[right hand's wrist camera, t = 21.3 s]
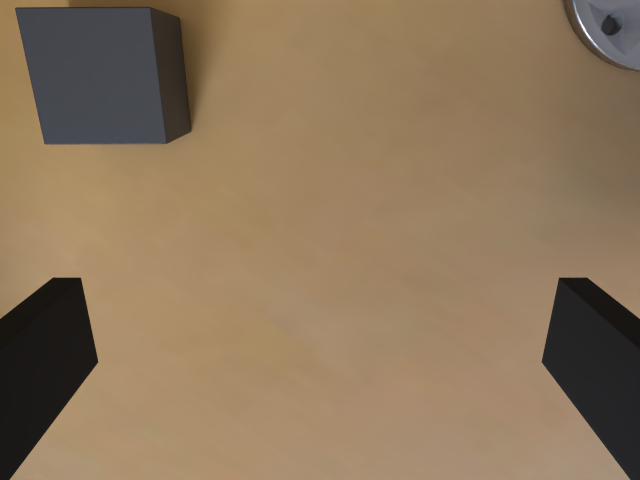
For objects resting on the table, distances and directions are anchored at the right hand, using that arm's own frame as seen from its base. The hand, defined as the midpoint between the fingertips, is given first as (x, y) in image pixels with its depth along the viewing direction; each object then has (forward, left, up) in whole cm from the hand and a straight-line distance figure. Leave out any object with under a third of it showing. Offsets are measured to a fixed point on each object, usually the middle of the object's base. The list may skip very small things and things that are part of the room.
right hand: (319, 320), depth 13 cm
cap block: (+14, -6, -25) cm, 29 cm away
